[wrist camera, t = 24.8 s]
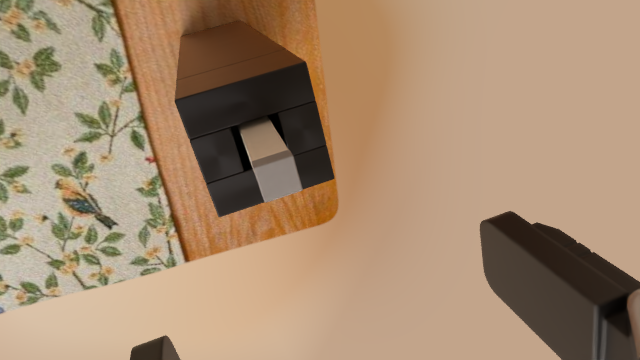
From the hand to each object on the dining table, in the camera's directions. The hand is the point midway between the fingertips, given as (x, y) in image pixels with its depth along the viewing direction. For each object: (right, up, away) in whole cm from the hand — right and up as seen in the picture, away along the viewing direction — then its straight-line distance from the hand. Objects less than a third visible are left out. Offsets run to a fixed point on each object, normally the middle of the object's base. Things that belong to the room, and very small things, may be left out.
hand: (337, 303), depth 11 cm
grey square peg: (-5, +7, +16) cm, 18 cm away
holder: (-11, +16, +39) cm, 43 cm away
